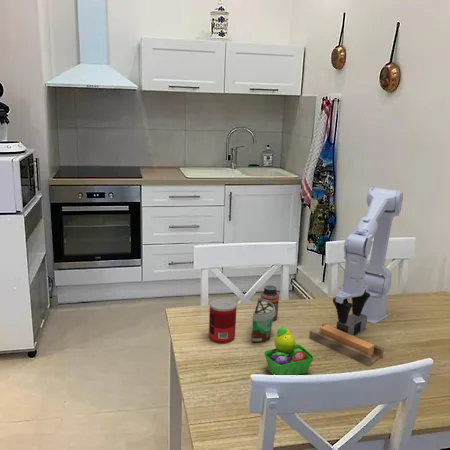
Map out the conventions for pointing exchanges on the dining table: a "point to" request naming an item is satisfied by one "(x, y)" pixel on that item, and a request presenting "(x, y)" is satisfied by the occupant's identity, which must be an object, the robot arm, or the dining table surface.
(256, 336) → the food container
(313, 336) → the tray
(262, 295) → the supplement bottle
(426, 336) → the dining table surface
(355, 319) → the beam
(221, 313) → the canned food
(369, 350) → the shaft
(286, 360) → the fruit basket
